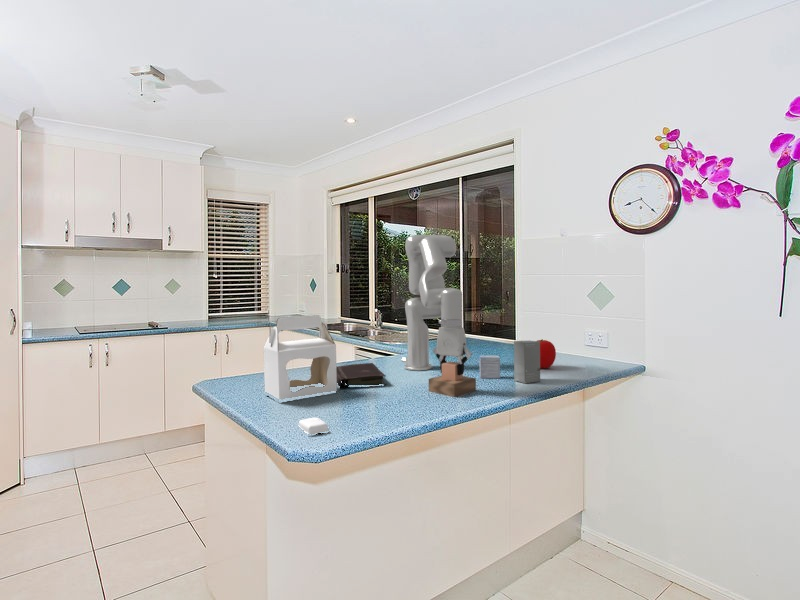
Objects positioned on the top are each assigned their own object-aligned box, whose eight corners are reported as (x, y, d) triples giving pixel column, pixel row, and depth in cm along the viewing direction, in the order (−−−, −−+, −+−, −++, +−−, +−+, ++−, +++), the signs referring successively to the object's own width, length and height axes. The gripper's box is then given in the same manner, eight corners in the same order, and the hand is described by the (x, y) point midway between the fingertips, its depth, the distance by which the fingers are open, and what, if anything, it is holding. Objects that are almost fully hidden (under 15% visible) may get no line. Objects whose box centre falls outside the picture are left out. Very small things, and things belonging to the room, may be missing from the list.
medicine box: (498, 376, 197) (498, 355, 197) (500, 378, 193) (500, 357, 192) (479, 376, 198) (479, 355, 197) (480, 378, 193) (480, 357, 193)
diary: (339, 391, 178) (338, 378, 178) (331, 377, 202) (330, 366, 202) (388, 387, 183) (387, 374, 183) (374, 374, 207) (374, 362, 207)
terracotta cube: (441, 379, 173) (441, 363, 172) (449, 376, 177) (449, 361, 177) (455, 380, 169) (455, 365, 169) (462, 378, 174) (462, 362, 174)
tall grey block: (525, 384, 183) (525, 342, 182) (512, 380, 189) (512, 340, 188) (541, 381, 187) (541, 341, 186) (528, 378, 193) (528, 338, 192)
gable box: (320, 386, 183) (319, 313, 182) (337, 393, 173) (336, 315, 171) (264, 396, 170) (261, 317, 169) (278, 404, 159) (276, 319, 158)
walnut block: (428, 392, 174) (428, 378, 173) (450, 386, 182) (450, 373, 182) (454, 398, 165) (454, 384, 165) (475, 392, 173) (475, 378, 173)
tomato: (559, 370, 207) (559, 340, 206) (533, 370, 207) (533, 341, 206) (551, 365, 218) (551, 337, 218) (527, 365, 218) (527, 337, 218)
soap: (295, 429, 134) (295, 419, 134) (318, 425, 138) (318, 415, 137) (307, 438, 126) (307, 427, 126) (331, 433, 130) (331, 423, 130)
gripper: (425, 323, 174) (426, 372, 175) (468, 326, 164) (468, 378, 165) (436, 321, 180) (437, 369, 181) (478, 324, 170) (478, 374, 171)
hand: (452, 372), depth 173 cm, fingers open, 6 cm apart
